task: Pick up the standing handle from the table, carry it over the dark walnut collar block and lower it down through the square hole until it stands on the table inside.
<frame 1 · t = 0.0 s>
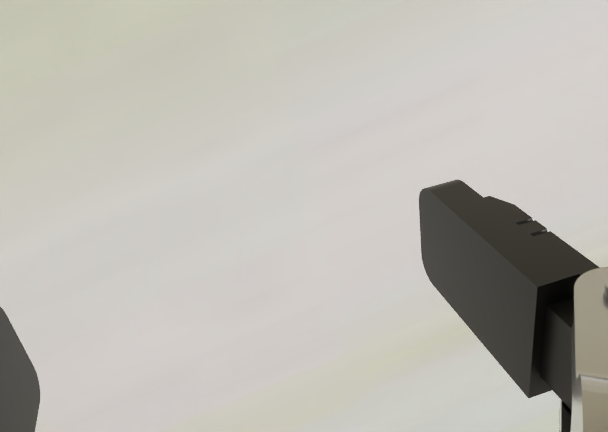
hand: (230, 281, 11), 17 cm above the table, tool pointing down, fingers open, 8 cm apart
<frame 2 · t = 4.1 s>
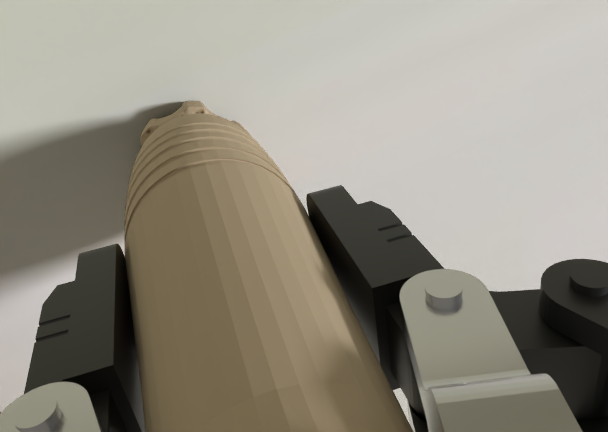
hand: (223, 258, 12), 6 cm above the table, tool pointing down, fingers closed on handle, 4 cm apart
handle: (192, 148, 17), on the table, touching gripper
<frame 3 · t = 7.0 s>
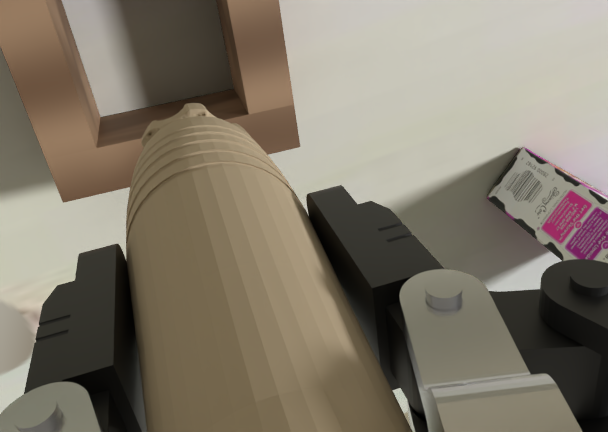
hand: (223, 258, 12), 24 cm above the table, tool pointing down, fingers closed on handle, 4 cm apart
handle: (193, 150, 17), point 17 cm above the table, touching gripper
collar block: (150, 34, 32), on the table
candy bar box: (546, 196, 45), on the table
when the fingers open (8 cm above the table, at t = 10.1 s): handle drops 2 cm, resting in collar block.
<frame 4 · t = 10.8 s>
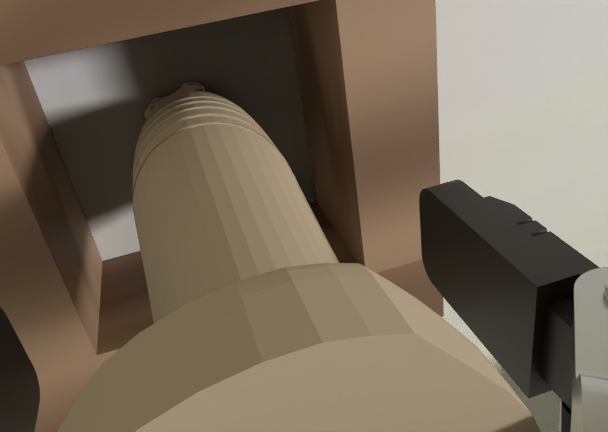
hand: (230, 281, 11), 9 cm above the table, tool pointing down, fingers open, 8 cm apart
handle: (191, 126, 19), resting in collar block
collar block: (186, 129, 19), on the table
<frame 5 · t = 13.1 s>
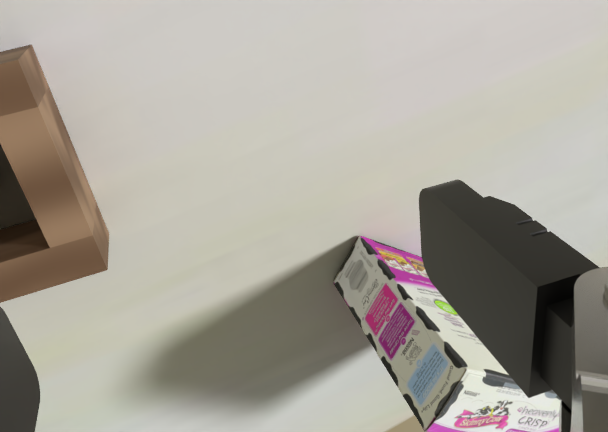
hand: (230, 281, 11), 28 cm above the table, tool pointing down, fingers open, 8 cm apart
candy bar box: (396, 275, 48), on the table
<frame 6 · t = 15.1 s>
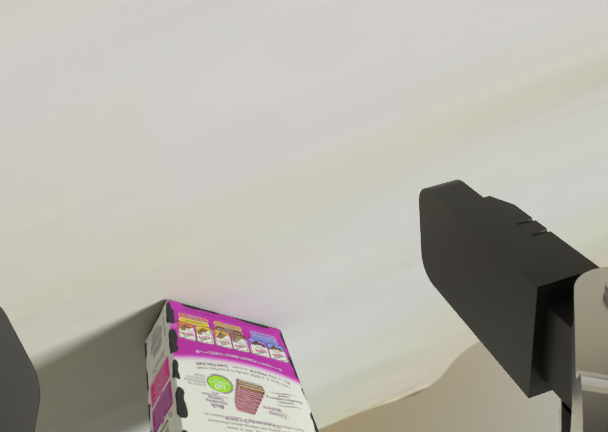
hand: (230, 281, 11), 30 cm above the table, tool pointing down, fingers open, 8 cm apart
candy bar box: (214, 334, 49), on the table
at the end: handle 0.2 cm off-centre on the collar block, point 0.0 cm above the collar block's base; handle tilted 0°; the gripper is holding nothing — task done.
